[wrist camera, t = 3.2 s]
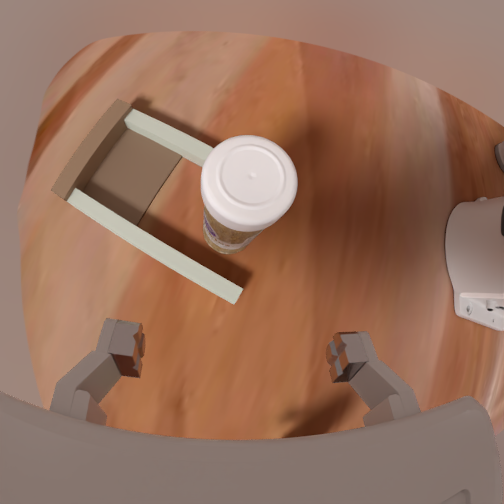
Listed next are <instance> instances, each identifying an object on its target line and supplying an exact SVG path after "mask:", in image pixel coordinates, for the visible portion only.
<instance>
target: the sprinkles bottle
mask: <svg viewBox="0 0 504 504" xmlns="http://www.w3.org/2000/svg"><path fill="white" fill-rule="evenodd" d="M297 187H298V178H297V172H296V169H295V166H294V164H293V162H292V160H291V158H290V157H289V156H288V154H287V153H286V152H285V151H284V150H283V149H282V148H281V147H280V146H278V145H277V144H276V143H274V142H272V141H270V140H268V139H266V138H263V137H259V136H254V135H241V136H236V137H232V138H229V139H227V140H225V141H223V142H221V143H220V144H218V145H217V146H216V147H215V148H214V149H213V150H212V151H211V152H210V154H209V155H208V156H207V158H206V160H205V162H204V165H203V168H202V174H201V194H202V198H203V201H204V204H205V206H204V223H203V234H204V238H205V240H206V242H207V244H208V245H209V246H210V247H211V248H212V249H214V250H215V251H217V252H219V253H222V254H234V253H237V252H239V251H242V250H243V249H244V248H245V247H246V246H247V245H248V244H249V243H250V242H251V241H252V240H253V239H254V238H255V237H256V236H257V235H258V234H259V233H261V232H262V231H263V230H264V229H265V228H267V227H269V226H271V225H272V224H274V223H275V222H276V221H277V220H278V219H280V218H281V217H282V216H283V215H284V214H285V213H286V212H287V210H288V209H289V208H290V206H291V205H292V203H293V201H294V199H295V196H296V193H297Z"/></svg>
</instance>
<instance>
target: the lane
mask: <svg viewBox="0 0 504 504" xmlns="http://www.w3.org/2000/svg"><path fill="white" fill-rule="evenodd" d="M213 149H214V148H212V147H210V146H209V145H207V144H205V143H203V142H201V141H199V140H197V139H195V138H193V137H191V136H189V135H187V134H185V133H183V132H181V131H179V130H177V129H175V128H173V127H171V126H169V125H167V124H165V123H163V122H161V121H159V120H156V119H154V118H152V117H150V116H148V115H146V114H144V113H141V112H139V111H137V110H135V109H133V107H132V105H131V104H128V103H126V102H124V101H122V100H119V99H117V100H116V101H115V102H114V103H113V104H112V105H111V107H110V108H109V109H108V110H107V111H106V113H105V114H104V115H103V116H102V117H101V119H100V120H99V121H98V122H97V124H96V125H95V126H94V127H93V129H92V130H91V131H90V133H89V134H88V135H87V137H86V138H85V139H84V141H83V142H82V143H81V145H80V146H79V147H78V149H77V150H76V152H75V153H74V155H73V156H72V157H71V159H70V160H69V162H68V163H67V165H66V166H65V168H64V169H63V171H62V173H61V174H60V176H59V177H58V179H57V180H56V182H55V184H54V185H53V187H52V189H51V191H52V192H54V193H55V194H57V195H58V196H60V197H61V198H62V199H64V200H65V201H67V202H68V203H70V204H71V205H73V206H74V207H76V208H77V209H79V210H80V211H82V212H83V213H84V214H86V215H87V216H89V217H90V218H92V219H93V220H95V221H96V222H98V223H99V224H101V225H102V226H104V227H106V228H107V229H109V230H110V231H112V232H113V233H115V234H116V235H118V236H119V237H121V238H123V239H124V240H126V241H127V242H129V243H130V244H132V245H134V246H135V247H137V248H138V249H140V250H142V251H143V252H145V253H146V254H148V255H150V256H151V257H153V258H155V259H156V260H158V261H160V262H161V263H163V264H165V265H166V266H168V267H170V268H171V269H173V270H175V271H176V272H178V273H180V274H181V275H183V276H185V277H186V278H188V279H190V280H192V281H193V282H195V283H197V284H199V285H200V286H202V287H204V288H205V289H207V290H209V291H211V292H213V293H214V294H216V295H218V296H220V297H221V298H223V299H225V300H227V301H229V302H230V303H232V304H235V303H236V301H237V299H238V297H239V295H240V294H241V292H242V290H243V288H241V287H239V286H237V285H236V284H234V283H232V282H230V281H228V280H227V279H225V278H223V277H221V276H220V275H218V274H216V273H214V272H213V271H211V270H209V269H207V268H206V267H204V266H202V265H200V264H199V263H197V262H195V261H194V260H192V259H190V258H188V257H187V256H185V255H183V254H182V253H180V252H178V251H177V250H175V249H173V248H172V247H170V246H168V245H166V244H165V243H163V242H161V241H160V240H158V239H156V238H155V237H153V236H152V235H150V234H148V233H147V232H145V231H143V230H142V229H140V228H138V227H137V225H138V223H139V221H140V220H141V218H142V216H143V215H144V213H145V212H146V210H147V208H148V207H149V205H150V204H151V202H152V200H153V199H154V197H155V196H156V194H157V193H158V191H159V190H160V188H161V187H162V185H163V184H164V182H165V181H166V179H167V178H168V176H169V175H170V173H171V172H172V170H173V169H174V167H175V166H176V165H177V163H178V162H179V160H180V159H181V158H182V157H184V158H186V159H188V160H190V161H192V162H194V163H195V164H197V165H199V166H201V167H203V165H204V162H205V160H206V158H207V156H208V155H209V154H210V152H211V151H212V150H213Z"/></svg>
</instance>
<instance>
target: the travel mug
mask: <svg viewBox="0 0 504 504" xmlns="http://www.w3.org/2000/svg"><path fill="white" fill-rule="evenodd" d="M495 155H496V158H497V161H498V164H499V166H500V168H501V169H502V171H503V172H504V141H503V142H502V143H499V144H497V145H496V146H495Z"/></svg>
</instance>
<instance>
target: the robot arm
mask: <svg viewBox="0 0 504 504" xmlns="http://www.w3.org/2000/svg"><path fill="white" fill-rule="evenodd" d="M445 250H446V261H447V267H448V271H449V275H450V279H451V282H452V285H453V289H454V307H455V312H456V314H457V315H458V316H460V317H462V318H465V319H468V320H470V321H473V322H476V323H478V324H481V325H484V326H486V327H489V328H492V329H494V330H497V331H503V330H504V196H502V197H497V198H492V199H487V198H486V197H481V198H478V199H477V200H476V201H475V202H462V203H460V204H458V205H457V206H456V207H455V208H454V209H453V211H452V213H451V215H450V217H449V220H448V224H447V229H446V239H445ZM142 330H143V326H142V323H136V322H129V321H122V320H117V319H109V318H107V319H106V320H105V321H104V324H103V328H102V331H101V334H100V337H99V341H98V344H97V347H96V351H91V352H90V353H89V354H88V355H87V356H86V357H85V358H83V359H82V360H81V361H80V362H79V363H78V364H77V365H76V366H75V367H73V368H72V369H71V370H70V371H69V372H68V373H67V374H66V375H65V376H64V377H62V378H61V379H60V380H59V381H58V382H57V384H56V387H55V391H54V395H53V398H52V402H51V406H50V410H47V409H44V408H41V407H38V406H35V405H33V404H30V403H27V402H25V401H22V400H20V399H17V398H15V397H13V396H10V395H8V394H5V393H3V392H1V391H0V504H502V498H503V497H502V495H503V494H502V493H503V491H502V475H501V467H500V460H499V453H498V449H497V443H496V439H495V434H494V431H493V427H492V423H491V420H490V417H489V415H488V412H487V410H486V409H485V408H484V407H483V406H482V405H481V404H480V403H479V402H478V401H476V400H475V399H474V398H473V397H471V396H464V397H462V398H459V399H457V400H454V401H451V402H449V403H446V404H443V405H441V406H438V407H435V408H432V409H429V410H426V411H423V412H421V411H420V408H419V405H418V402H417V399H416V396H415V394H414V391H413V389H412V388H411V387H410V386H409V385H408V384H406V383H405V382H404V381H403V380H402V379H401V378H400V377H399V376H398V375H397V374H396V373H394V372H393V371H392V370H391V369H390V368H389V367H388V366H387V365H386V364H385V363H384V362H382V361H379V360H378V357H377V354H376V352H375V349H374V346H373V344H372V341H371V338H370V336H369V333H368V332H367V331H361V332H356V331H355V332H337V333H335V334H334V336H333V341H331V342H330V343H329V344H328V346H327V348H326V359H327V362H328V363H329V364H330V365H331V368H330V370H329V372H330V376H331V380H332V383H339V382H348V383H349V384H350V385H351V386H352V388H353V389H354V390H355V391H356V392H357V394H358V395H359V396H360V397H361V398H362V400H363V401H364V402H365V403H366V404H367V405H368V407H369V408H370V409H371V411H369V412H368V413H367V414H366V415H364V417H363V420H364V424H365V427H361V428H356V429H351V430H345V431H340V432H333V433H327V434H319V435H311V436H302V437H292V438H279V439H260V440H214V439H194V438H182V437H171V436H162V435H154V434H147V433H141V432H135V431H129V430H123V429H118V428H113V427H108V426H106V419H107V415H106V414H105V412H104V411H103V410H102V409H101V408H100V406H99V405H98V404H99V403H100V401H101V400H102V399H103V398H104V397H105V395H106V394H107V393H108V392H109V391H110V390H111V388H112V387H113V386H114V385H115V384H116V383H117V381H118V380H119V379H120V378H121V376H127V377H135V378H140V376H141V370H142V361H141V358H142V357H143V356H144V353H145V335H144V334H143V333H142Z"/></svg>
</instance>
